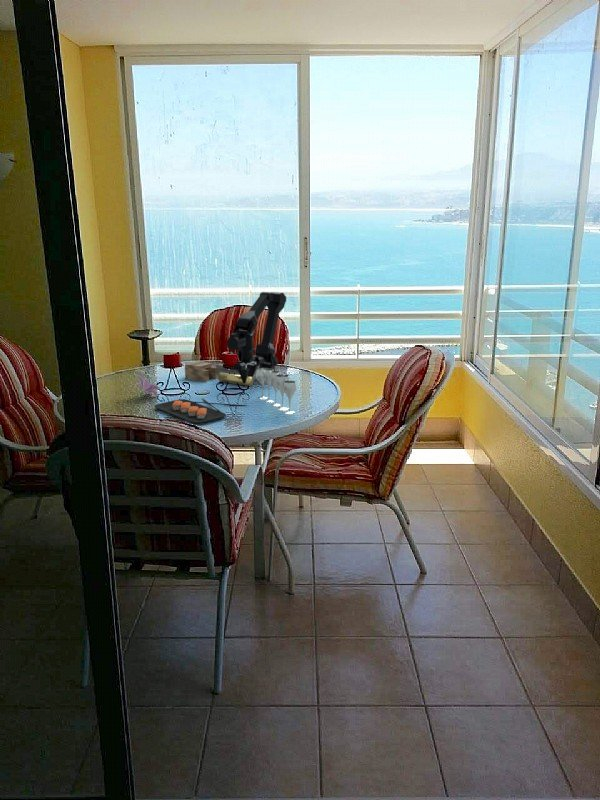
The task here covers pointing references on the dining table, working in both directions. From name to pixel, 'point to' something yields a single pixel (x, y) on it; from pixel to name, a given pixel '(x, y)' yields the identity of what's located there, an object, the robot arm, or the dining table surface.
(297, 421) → the dining table surface
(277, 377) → the goblet set
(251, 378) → the axle
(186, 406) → the sushi plate
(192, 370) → the wooden block
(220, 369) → the v block
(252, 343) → the robot arm
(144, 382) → the lily
